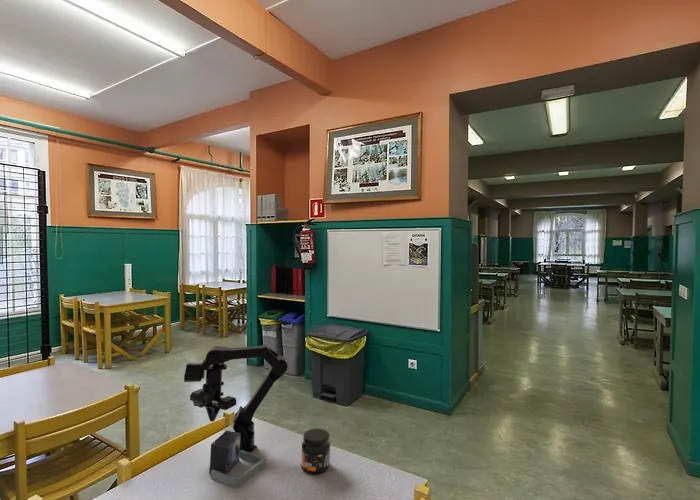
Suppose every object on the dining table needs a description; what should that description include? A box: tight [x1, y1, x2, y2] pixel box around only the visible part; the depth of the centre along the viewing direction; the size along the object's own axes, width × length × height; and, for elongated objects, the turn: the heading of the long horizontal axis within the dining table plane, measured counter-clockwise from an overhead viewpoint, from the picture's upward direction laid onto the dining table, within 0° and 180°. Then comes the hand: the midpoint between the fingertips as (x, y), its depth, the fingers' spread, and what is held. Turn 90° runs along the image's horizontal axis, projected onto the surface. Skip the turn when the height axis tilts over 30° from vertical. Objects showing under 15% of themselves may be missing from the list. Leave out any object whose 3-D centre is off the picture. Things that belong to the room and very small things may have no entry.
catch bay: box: [210, 450, 267, 490], centre depth 127 cm, size 15×12×2 cm
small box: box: [208, 430, 241, 475], centre depth 129 cm, size 11×6×10 cm, turn 169°
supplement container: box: [300, 428, 331, 476], centre depth 131 cm, size 10×10×12 cm
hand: (212, 421), depth 138 cm, fingers closed
